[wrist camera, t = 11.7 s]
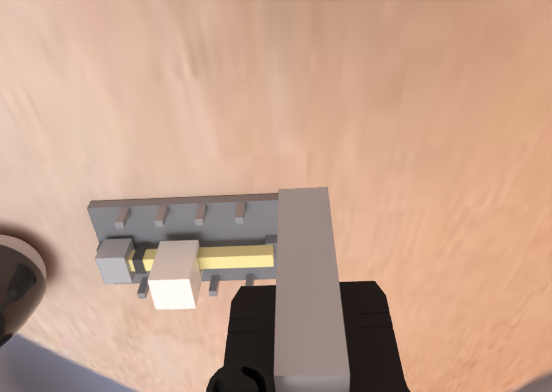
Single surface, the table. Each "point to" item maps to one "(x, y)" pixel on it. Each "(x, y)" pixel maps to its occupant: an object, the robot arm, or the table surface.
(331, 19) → the table surface
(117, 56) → the table surface
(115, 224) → the cable comb
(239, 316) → the robot arm
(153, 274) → the sleeve
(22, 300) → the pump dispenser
